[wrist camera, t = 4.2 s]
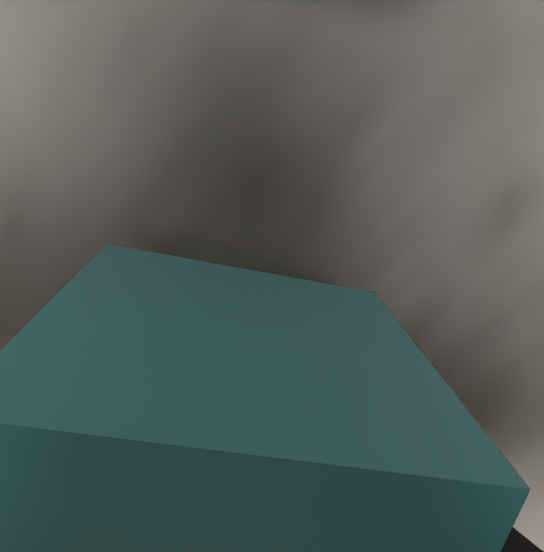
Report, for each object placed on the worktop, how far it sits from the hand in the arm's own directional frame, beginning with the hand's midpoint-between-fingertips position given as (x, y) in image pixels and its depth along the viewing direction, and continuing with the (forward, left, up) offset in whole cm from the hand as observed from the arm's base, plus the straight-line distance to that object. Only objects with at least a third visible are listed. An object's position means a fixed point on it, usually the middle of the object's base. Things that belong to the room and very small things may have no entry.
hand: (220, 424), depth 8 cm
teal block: (0, 0, -1) cm, 1 cm away
